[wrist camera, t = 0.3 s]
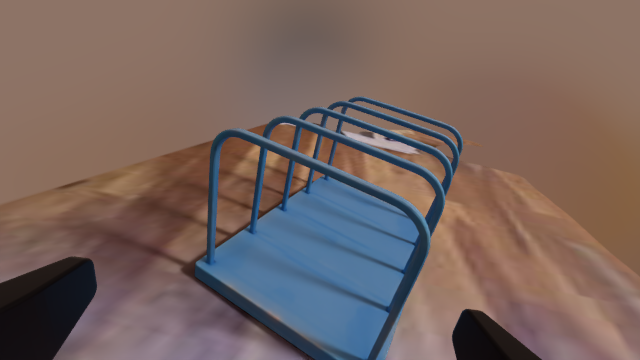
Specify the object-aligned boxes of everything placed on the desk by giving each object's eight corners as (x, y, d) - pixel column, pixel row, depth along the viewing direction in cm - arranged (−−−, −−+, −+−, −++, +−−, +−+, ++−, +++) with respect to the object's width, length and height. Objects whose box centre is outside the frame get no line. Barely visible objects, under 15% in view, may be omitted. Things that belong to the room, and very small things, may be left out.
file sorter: (321, 184, 47) (346, 88, 40) (427, 234, 42) (478, 132, 35) (192, 277, 27) (199, 112, 20) (368, 401, 21) (465, 232, 14)
